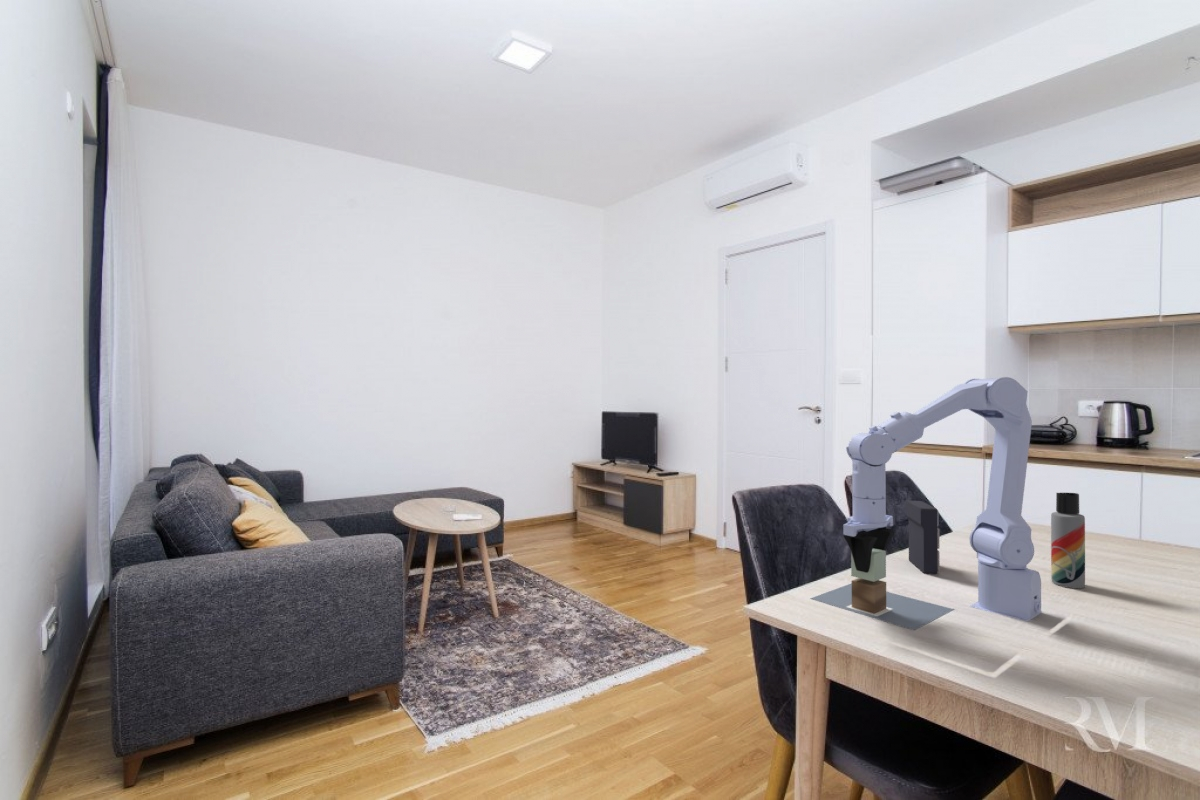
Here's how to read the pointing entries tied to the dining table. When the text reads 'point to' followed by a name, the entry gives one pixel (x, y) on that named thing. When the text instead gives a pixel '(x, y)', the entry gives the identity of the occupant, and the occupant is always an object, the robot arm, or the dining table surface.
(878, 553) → the sage block
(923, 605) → the grey mat
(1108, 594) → the dining table surface
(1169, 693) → the dining table surface
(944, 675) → the dining table surface
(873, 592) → the walnut block
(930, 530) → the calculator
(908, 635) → the dining table surface
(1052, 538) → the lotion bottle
